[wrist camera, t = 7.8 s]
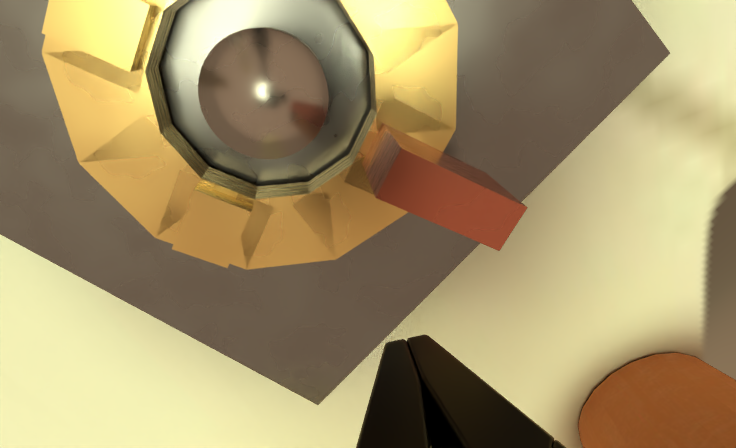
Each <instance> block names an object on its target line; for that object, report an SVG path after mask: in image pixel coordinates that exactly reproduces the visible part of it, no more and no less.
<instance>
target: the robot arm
mask: <svg viewBox="0 0 736 448" xmlns="http://www.w3.org/2000/svg"><path fill="white" fill-rule="evenodd" d="M356 448H566V447H565V446H564V445H562V444H561V443H560V442H559V441H557V440H555V441H554V438H553V437H552V436H551V435H550V434H549V433H547V432H546V431H545V430H544V429H542V428H541V427H540V426H539V425H537V424H536V423H535V422H534V421H533V420H531V419H530V418H529V417H528V416H526V415H525V414H524V413H523V412H521V411H520V410H519V409H518V408H517V407H515V406H514V405H513V404H512V403H510V402H509V401H508V400H507V399H505V398H504V397H503V396H502V395H501V394H499V393H498V392H497V391H496V390H494V389H493V388H492V387H491V386H489V385H488V384H487V383H486V382H485V381H483V380H482V379H481V378H480V377H478V376H477V375H476V374H475V373H473V372H472V371H471V370H470V369H469V368H467V367H466V366H465V365H464V364H462V363H461V362H460V361H459V360H457V359H456V358H455V357H454V356H453V355H451V354H450V353H449V352H448V351H446V350H445V349H444V348H443V347H441V346H440V345H439V344H438V343H437V342H435V341H434V340H433V339H432V338H430V337H429V336H427V335H421V336H416V337H411V338H408V340H407V342H406V341H405V340H404V339H402V340H397V341H392V342H388V343H386V344H385V347H384V350H383V354H382V357H381V361H380V364H379V368H378V371H377V375H376V379H375V382H374V386H373V389H372V393H371V396H370V400H369V403H368V407H367V411H366V414H365V418H364V421H363V425H362V428H361V432H360V435H359V439H358V443H357V446H356Z"/></svg>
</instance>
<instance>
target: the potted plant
mask: <svg viewBox="0 0 736 448" xmlns="http://www.w3.org/2000/svg"><path fill="white" fill-rule="evenodd" d="M578 428H579V434H580V440H581V442H582V445H583V447H584V448H736V380H734V379H733V378H731V377H729V376H727V375H726V374H724V373H722V372H721V371H719V370H717V369H715V368H713V367H712V366H710V365H709V364H707V363H705V362H703V361H702V360H700V359H698V358H696V357H694V356H689V355H685V354H680V353H667V354H656V355H652V356H649V357H646V358H643V359H640V360H637V361H634V362H631V363H629V364H628V365H626V366H624V367H623V368H621V369H619V370H617V371H616V372H614V373H612V374H611V375H610V376H609V377H608V378H606V379H605V380H604V381H603V382H602V383H601V384H600V385H599V386H598V387H597V388H596V389H595V390H594V391H593V393H592V394H591V396H590V397H589V399H588V400H587V402H586V403H585V405H584V407H583V408H582V412H581V416H580V419H579V423H578Z"/></svg>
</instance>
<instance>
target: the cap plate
mask: <svg viewBox="0 0 736 448" xmlns="http://www.w3.org/2000/svg"><path fill="white" fill-rule="evenodd" d="M446 1H447V3H448V5H449V7H450V9H451V11H452V13H453V15H454V17H455V19H456V21H457V24H458V45H457V97H456V130H455V132H454V133H453V135H452V137H451V139H450V140H449V142H448V144H447V146H446V148H445V149H444V151H443V152H444V153H446V154H448V155H450V156H453V157H455V158H457V159H459V160H461V161H463V162H465V163H467V164H469V165H471V166H473V167H475V168H477V169H479V170H481V171H484V172H486V173H487V174H488V175H489V176H490V177H492V178H493V179H494V180H495V181H496V182H498V183H499V184H500V185H501V186H502V187H504V188H505V189H506V190H507V191H508V192H509V193H511V194H512V195H513V196H514V197H515V198H517V199H518V200H519V201H520V202H522V201H523V200H524V199H525V198H526V197H527V196H528V195H529V194H530V193H531V192H532V191H533V190H534V189H535V188H536V187H537V186H538V185H539V184H540V183H541V182H542V181H543V180H544V179H545V178H546V177H547V176H548V175H549V174H550V173H551V172H552V171H553V170H554V169H555V168H556V167H557V166H558V165H559V164H560V163H561V162H562V161H563V160H564V159H565V158H566V157H567V156H568V155H569V154H570V153H571V152H572V151H573V150H574V149H575V148H576V147H577V146H578V145H579V144H580V143H581V142H582V141H583V140H584V139H585V138H586V137H587V136H588V135H589V134H590V133H591V132H592V131H593V130H594V129H595V128H596V127H597V126H598V125H599V124H600V123H601V122H602V121H603V120H604V119H605V118H606V117H607V116H608V115H609V114H610V113H611V112H612V111H613V110H614V109H615V108H616V107H617V106H618V105H619V104H620V103H621V102H622V101H623V100H624V99H625V98H626V97H627V96H628V95H629V94H630V93H631V92H632V91H633V90H634V89H635V88H636V87H637V86H638V85H639V84H640V83H641V82H642V81H643V80H644V79H645V78H646V77H647V76H648V75H649V74H650V73H651V72H652V71H653V70H654V69H655V68H656V67H657V66H658V65H659V64H660V63H661V62H662V61H663V60H664V59H665V58H666V57H667V56H668V55H669V54H670V52H669V51H668V49H667V48H666V47H665V45H664V44H663V43H662V41H661V40H660V39H659V37H658V36H657V34H656V33H655V32H654V30H653V29H652V28H651V26H650V25H649V24H648V22H647V21H646V19H645V18H644V17H643V15H642V14H641V13H640V11H639V10H638V9H637V7H636V6H635V4H634V3H633V2H632V0H446ZM48 2H49V0H0V234H1V235H3V236H5V237H6V238H8V239H10V240H12V241H14V242H16V243H18V244H19V245H21V246H23V247H25V248H27V249H29V250H31V251H33V252H34V253H36V254H38V255H40V256H42V257H44V258H46V259H47V260H49V261H51V262H53V263H55V264H57V265H59V266H60V267H62V268H64V269H66V270H68V271H70V272H72V273H73V274H75V275H77V276H79V277H81V278H83V279H85V280H86V281H88V282H90V283H92V284H94V285H96V286H98V287H99V288H101V289H103V290H105V291H107V292H109V293H111V294H112V295H114V296H116V297H118V298H120V299H122V300H124V301H125V302H127V303H129V304H131V305H133V306H135V307H137V308H139V309H140V310H142V311H144V312H146V313H148V314H150V315H152V316H153V317H155V318H157V319H159V320H161V321H163V322H165V323H166V324H168V325H170V326H172V327H174V328H176V329H178V330H179V331H181V332H183V333H185V334H187V335H189V336H191V337H192V338H194V339H196V340H198V341H200V342H202V343H204V344H205V345H207V346H209V347H211V348H213V349H215V350H217V351H218V352H220V353H222V354H224V355H226V356H228V357H230V358H232V359H233V360H235V361H237V362H239V363H241V364H243V365H245V366H246V367H248V368H250V369H252V370H254V371H256V372H258V373H259V374H261V375H263V376H265V377H267V378H269V379H271V380H272V381H274V382H276V383H278V384H280V385H282V386H284V387H285V388H287V389H289V390H291V391H293V392H295V393H297V394H298V395H300V396H302V397H304V398H306V399H308V400H310V401H311V402H313V403H315V404H317V405H319V404H320V403H321V402H322V401H323V400H324V399H325V398H326V397H327V396H328V395H329V394H330V393H331V392H332V391H333V390H334V389H335V388H336V387H337V386H338V385H339V384H340V383H341V382H342V381H343V380H344V379H345V378H346V377H347V376H348V375H349V374H350V373H351V372H352V371H353V370H354V369H355V368H356V367H357V366H358V365H359V364H360V363H361V362H362V361H363V360H364V359H365V358H366V357H367V356H368V355H369V354H370V353H371V352H372V351H373V350H374V349H375V348H376V347H377V346H378V345H379V344H380V343H381V342H382V341H383V340H384V339H385V338H386V337H387V336H388V335H389V334H390V333H391V332H392V331H393V330H394V329H395V328H396V327H397V326H398V325H399V324H400V323H401V322H402V321H403V320H404V319H405V318H406V317H407V316H408V315H409V314H410V313H411V312H412V311H413V310H414V309H415V308H416V307H417V306H418V305H419V304H420V303H421V302H422V301H423V300H424V299H425V298H426V297H427V296H428V295H429V294H430V293H431V292H432V291H433V290H434V289H435V288H436V287H437V286H438V285H439V284H440V283H441V282H442V281H443V280H444V279H445V278H446V277H447V276H448V275H449V274H450V273H451V272H452V271H453V270H454V269H455V268H456V267H457V266H458V265H459V264H460V263H461V262H462V261H463V260H464V259H465V258H466V257H467V256H468V255H469V254H470V253H471V252H472V251H473V250H474V249H475V248H476V247H477V246H478V245H479V244H480V242H477V241H475V240H473V239H470V238H468V237H466V236H463V235H461V234H459V233H456V232H454V231H452V230H449V229H447V228H445V227H442V226H440V225H438V224H435V223H433V222H431V221H428V220H426V219H424V218H421V217H419V216H417V215H414V214H412V213H410V212H408V213H406V214H405V215H403V216H402V217H400V218H399V219H397V220H396V221H394V222H393V223H391V224H390V225H388V226H387V227H385V228H384V229H382V230H381V231H379V232H377V233H376V234H374V235H373V236H371V237H370V238H368V239H367V240H365V241H364V242H362V243H361V244H359V245H358V246H356V247H355V248H353V249H352V250H350V251H348V252H347V253H345V254H344V255H342V256H341V257H339V258H338V259H336V260H328V261H319V262H310V263H301V264H292V265H283V266H275V267H266V268H257V269H248V270H247V269H243V268H240V267H238V266H235V265H232V264H229V266H228V268H225V267H222V266H220V265H217V264H214V263H211V262H208V261H205V260H202V259H199V258H196V257H193V256H190V255H187V254H185V253H182V252H179V251H176V250H173V249H172V247H173V244H171V243H168V242H165V241H162V240H160V239H157V238H156V237H154V236H153V235H152V234H151V233H150V232H149V231H148V230H146V229H145V228H144V227H143V226H142V225H141V224H140V223H139V222H138V221H137V220H136V219H135V218H134V217H133V216H132V215H131V214H130V213H129V212H128V211H127V210H126V209H125V208H124V207H123V206H122V205H121V204H120V203H119V202H118V201H117V200H116V199H115V198H114V197H113V196H112V195H111V194H110V193H109V192H108V191H107V190H106V189H105V188H104V187H103V186H102V185H101V184H100V183H98V182H97V181H96V180H95V179H94V178H93V177H92V176H91V175H90V174H89V173H88V172H87V171H86V170H85V169H84V168H83V167H82V166H81V165H80V164H79V163H78V160H77V157H76V154H75V151H74V148H73V145H72V142H71V139H70V136H69V133H68V130H67V127H66V124H65V121H64V118H63V115H62V112H61V109H60V106H59V103H58V100H57V97H56V94H55V91H54V88H53V85H52V82H51V79H50V76H49V73H48V71H47V68H46V65H45V62H44V59H43V56H42V53H43V52H42V48H43V43H44V39H45V34H42V29H43V25H44V20H45V16H46V11H47V7H48ZM158 69H159V73H160V77H161V82H162V86H163V90H164V94H165V98H166V102H167V107H168V111H169V115H170V119H171V123H172V125H173V126H174V127H175V129H176V130H177V131H178V132H179V133H180V134H181V135H182V137H183V138H184V139H185V140H186V141H187V142H188V143H189V145H190V146H191V147H192V148H193V149H194V150H195V151H196V152H197V154H198V155H199V156H200V157H201V158H202V159H203V160H204V162H205V163H206V164H207V165H208V166H209V167H211V168H213V169H216V170H218V171H221V172H223V173H226V174H228V175H231V176H233V177H236V178H238V179H241V180H243V181H246V182H248V183H251V184H253V185H256V186H258V187H259V186H269V185H280V184H290V183H300V182H309V181H310V180H312V179H313V178H314V177H316V176H317V175H319V174H320V173H322V172H323V171H325V170H326V169H328V168H329V167H330V166H332V165H333V164H335V163H336V162H338V161H339V160H341V159H342V158H343V157H345V156H346V155H348V154H349V153H350V151H351V149H352V147H353V145H354V142H355V140H356V138H357V136H358V134H359V132H360V130H361V128H362V126H363V124H364V122H365V120H366V118H367V116H368V114H369V111H370V109H371V91H370V73H369V55H368V51H367V49H366V47H365V46H364V44H363V43H362V41H361V39H360V38H359V36H358V35H357V33H356V31H355V30H354V28H353V26H352V25H351V23H350V22H349V20H348V18H347V17H346V15H345V13H344V12H343V10H342V9H341V7H340V5H339V4H338V2H337V1H336V0H190V1H188V2H187V3H186V4H184V5H183V6H182V7H181V8H179V9H178V10H177V11H176V12H175V15H174V18H173V22H172V25H171V28H170V31H169V34H168V38H167V41H166V44H165V47H164V50H163V53H162V57H161V60H160V63H159V66H158Z"/></svg>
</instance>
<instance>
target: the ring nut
mask: <svg viewBox="0 0 736 448" xmlns="http://www.w3.org/2000/svg"><path fill="white" fill-rule="evenodd" d="M188 1H190V0H49V2H48V7H47V11H46V16H45V20H44V25H43V29H42V34H45V39H44V43H43V48H42V52H43V53H42V56H43V59H44V62H45V65H46V68H47V71H48V73H49V76H50V79H51V82H52V85H53V88H54V91H55V94H56V97H57V100H58V103H59V106H60V109H61V112H62V115H63V118H64V121H65V124H66V127H67V130H68V133H69V136H70V139H71V142H72V145H73V148H74V151H75V154H76V157H77V160H78V163H79V164H80V165H81V166H82V167H83V168H84V169H85V170H86V171H87V172H88V173H89V174H90V175H91V176H92V177H93V178H94V179H95V180H96V181H97V182H98V183H100V184H101V185H102V186H103V187H104V188H105V189H106V190H107V191H108V192H109V193H110V194H111V195H112V196H113V197H114V198H115V199H116V200H117V201H118V202H119V203H120V204H121V205H122V206H123V207H124V208H125V209H126V210H127V211H128V212H129V213H130V214H131V215H132V216H133V217H134V218H135V219H136V220H137V221H138V222H139V223H140V224H141V225H142V226H143V227H144V228H145V229H146V230H148V231H149V232H150V233H151V234H152V235H153V236H154V237H156V238H157V239H160V240H162V241H165V242H168V243H171V244H173V247H172V249H173V250H176V251H179V252H182V253H185V254H187V255H190V256H193V257H196V258H199V259H202V260H205V261H208V262H211V263H214V264H217V265H220V266H222V267H225V268H228V266H229V264H232V265H235V266H238V267H240V268H243V269H247V270H248V269H257V268H266V267H275V266H283V265H292V264H301V263H310V262H319V261H328V260H336V259H338V258H339V257H341V256H342V255H344V254H345V253H347V252H348V251H350V250H352V249H353V248H355V247H356V246H358V245H359V244H361V243H362V242H364V241H365V240H367V239H368V238H370V237H371V236H373V235H374V234H376V233H377V232H379V231H381V230H382V229H384V228H385V227H387V226H388V225H390V224H391V223H393V222H394V221H396V220H397V219H399V218H400V217H402V216H403V215H405V214H406V213H408V212H410V213H412V214H414V215H417V216H419V217H421V218H424V219H426V220H428V221H431V222H433V223H435V224H438V225H440V226H442V227H445V228H447V229H449V230H452V231H454V232H456V233H459V234H461V235H463V236H466V237H468V238H470V239H473V240H475V241H477V242H480V243H482V244H484V245H487V246H489V247H491V248H494V249H496V250H498V251H499V250H500V249H501V247H502V246H503V244H504V243H505V241H506V240H507V238H508V237H509V235H510V233H511V232H512V230H513V229H514V227H515V226H516V224H517V223H518V221H519V220H520V218H521V217H522V215H523V213H524V212H525V210H526V209H527V207H526V206H525V205H524V204H523V203H521V202H520V201H519V200H518V199H517V198H515V197H514V196H513V195H512V194H511V193H509V192H508V191H507V190H506V189H505V188H504V187H502V186H501V185H500V184H499V183H498V182H496V181H495V180H494V179H493V178H492V177H490V176H489V175H488V174H487V173H486V172H484V171H481V170H479V169H477V168H475V167H473V166H471V165H469V164H467V163H465V162H463V161H461V160H459V159H457V158H455V157H453V156H450V155H448V154H446V153H444V152H443V151H444V149H445V148H446V146H447V144H448V142H449V140H450V139H451V137H452V135H453V133H454V132H455V130H456V97H457V45H458V24H457V21H456V19H455V17H454V15H453V13H452V11H451V9H450V7H449V5H448V3H447V1H446V0H336V1H337V2H338V4H339V5H340V7H341V9H342V10H343V12H344V13H345V15H346V17H347V18H348V20H349V22H350V23H351V25H352V26H353V28H354V30H355V31H356V33H357V35H358V36H359V38H360V39H361V41H362V43H363V44H364V46H365V47H366V49H367V51H368V55H369V73H370V91H371V109H370V111H369V114H368V116H367V118H366V120H365V122H364V124H363V126H362V128H361V130H360V132H359V134H358V136H357V138H356V140H355V142H354V145H353V147H352V149H351V151H350V153H349V154H348V155H346V156H345V157H343V158H342V159H341V160H339V161H338V162H336V163H335V164H333V165H332V166H330V167H329V168H328V169H326V170H325V171H323V172H322V173H320V174H319V175H317V176H316V177H314V178H313V179H312V180H310V181H309V182H300V183H290V184H280V185H269V186H259V187H258V186H256V185H253V184H251V183H248V182H246V181H243V180H241V179H238V178H236V177H233V176H231V175H228V174H226V173H223V172H221V171H218V170H216V169H213V168H211V167H209V166H208V165H207V164H206V163H205V162H204V160H203V159H202V158H201V157H200V156H199V155H198V154H197V152H196V151H195V150H194V149H193V148H192V147H191V146H190V145H189V143H188V142H187V141H186V140H185V139H184V138H183V137H182V135H181V134H180V133H179V132H178V131H177V130H176V129H175V127H174V126H173V125H172V123H171V119H170V115H169V111H168V107H167V102H166V98H165V94H164V90H163V86H162V82H161V77H160V73H159V69H158V66H159V63H160V60H161V57H162V53H163V50H164V47H165V44H166V41H167V38H168V34H169V31H170V28H171V25H172V22H173V18H174V15H175V12H176V11H177V10H178V9H179V8H181V7H182V6H183V5H184V4H186V3H187V2H188Z"/></svg>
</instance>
